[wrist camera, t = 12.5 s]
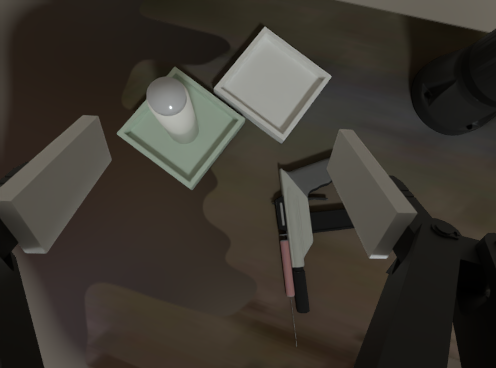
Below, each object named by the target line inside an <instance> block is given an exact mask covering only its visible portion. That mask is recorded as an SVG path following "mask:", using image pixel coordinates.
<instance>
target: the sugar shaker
mask: <svg viewBox="0 0 496 368" xmlns="http://www.w3.org/2000/svg"><path fill="white" fill-rule="evenodd" d="M147 104H148V107H149V108H150V110H151V111H152V113H153V114H154V115H155V117H156V118H157V119H158V121H159V122H160V123H161V125H162V126H163V127H164V129H165V130H166V131H167V133H168V134H169V135H170V137H171V138H172V139H173V140H174V141H175V142H177V143H180V144H188V143H191V142H192V141H194V140H195V139H196V138H197V136H198V134H199V125H198V122H197V118H196V115H195V112H194V109H193V106H192V103H191V100H190V97H189V94H188V91H187V89H186V88H185V86H184V85H183V84H182V83H180V82H179V81H178V80H176V79H174V78H172V77H160V78H158V79H156V80H154V81H153V82H152V83H151V84H150V85H149V87H148V89H147Z"/></svg>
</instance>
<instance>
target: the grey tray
mask: <svg viewBox="0 0 496 368" xmlns="http://www.w3.org/2000/svg"><path fill="white" fill-rule="evenodd" d="M331 77H332V76H331V75H329V74H328V73H327V72H325V71H324V70H323V69H321V68H320V67H319V66H317V65H316V64H314V63H313V62H312V61H310V60H309V59H308V58H306V57H305V56H304V55H302V54H301V53H300V52H298V51H297V50H296V49H294V48H293V47H292V46H290V45H289V44H288V43H286V42H285V41H284V40H282V39H281V38H280V37H278V36H277V35H276V34H274V33H273V32H272V31H270V30H269V29H267V28H266V27H264V28H263V29H262V31H261V32H260V33H259V34H258V35H257V37H256V38H255V39H254V40H253V41H252V43H251V44H250V45H249V46H248V48H247V49H246V50H245V51H244V52H243V54H242V55H241V56H240V57H239V58H238V60H237V61H236V62H235V63H234V64H233V66H232V67H231V68H230V69H229V71H228V72H227V73H226V74H225V75H224V77H223V78H222V79H221V80H220V81H219V83H218V84H217V85H216V86H215V87H214V94H215V95H216V96H218V97H219V98H220V99H222V100H223V101H225V102H226V103H227V104H229V105H230V106H231V107H233V108H234V109H235V110H237V111H238V112H239V113H241V114H242V115H243V116H245V117H246V118H247V119H249V120H250V121H251V122H253V123H254V124H255V125H257V126H258V127H259V128H261V129H262V130H263V131H265V132H266V133H267V134H269V135H270V136H271V137H273V138H274V139H275V140H277V141H278V142H279V143H281V144H282V143H283V141H284V140H285V139H286V137H287V136H288V135H289V133H290V132H291V131H292V129H293V128H294V127H295V125H296V124H297V123H298V121H299V120H300V119H301V117H302V116H303V115H304V113H305V112H306V111H307V109H308V108H309V107H310V105H311V104H312V103H313V101H314V100H315V99H316V97H317V96H318V94H319V93H320V92H321V90H322V89H323V88H324V86H325V85H326V84H327V82H328V81H329V80H330V78H331Z"/></svg>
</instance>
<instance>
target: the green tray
mask: <svg viewBox="0 0 496 368" xmlns="http://www.w3.org/2000/svg"><path fill="white" fill-rule="evenodd" d="M166 77H172V78H174V79H176V80H178V81H179V82H180V83H182V84H183V85H184V86H185V88H186V89H187V91H188V94H189V97H190V100H191V103H192V106H193V109H194V112H195V115H196V118H197V122H198V125H199V134H198V136H197V138H196V139H195V140H194V141H192V142H191V143H188V144H180V143H177V142H175V141H174V140H173V139H172V138H171V137H170V135H169V134H168V133H167V131H166V130H165V129H164V127H163V126H162V125H161V123H160V122H159V121H158V119H157V118H156V117H155V115H154V114H153V113H152V111H151V110H150V108H149V107H148V104H147V99H146V100H145V102H144V103H143V104H142V105H141V106H140V107H139V108H138V110H137V111H136V112H135V113H134V114H133V115H132V116H131V118H130V119H129V120H128V121H127V122H126V123H125V125H124V126H123V127H122V128H121V129H120V130H119V131H118V133H117V135H119V136H120V137H121V138H123V139H124V140H125V141H127V142H128V143H129V144H131V145H132V146H134V147H135V148H136V149H137V150H139V151H140V152H141V153H143V154H144V155H145V156H147V157H148V158H150V159H151V160H152V161H154V162H155V163H156V164H158V165H159V166H160V167H162V168H163V169H164V170H166V171H167V172H168V173H170V174H171V175H172V176H174V177H175V178H176V179H178V180H179V181H180V182H182V183H183V184H184V185H186V186H187V187H188V188H190V189H191V190H193V188H194V187H195V186H196V184H197V183H198V182H199V181H200V179H201V178H202V177H203V176H204V174H205V173H206V172H207V170H208V169H209V168H210V167H211V165H212V164H213V163H214V162H215V160H216V159H217V158H218V156H219V155H220V154H221V153H222V151H223V150H224V149H225V148H226V146H227V145H228V144H229V142H230V141H231V140H232V139H233V137H234V136H235V135H236V133H237V132H238V131H239V130H240V128H241V127H242V126H243V125H244V123H245V118H243V117H242V116H241V115H239V114H238V113H237V112H235V111H234V110H233V109H231V108H230V107H229V106H227V105H226V104H225V103H223V102H222V101H220V100H219V99H218V98H216V97H215V96H214V95H212V94H211V93H210V92H208V91H207V90H206V89H204V88H203V87H202V86H200V85H199V84H198V83H196V82H195V81H194V80H192V79H191V78H190V77H188V76H187V75H186V74H184V73H183V72H182V71H180V70H179V69H178V68H176V67H174V68H173V69H172V70H171V72H170V73H169V74H168V75H167V76H166Z"/></svg>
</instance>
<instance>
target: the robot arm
mask: <svg viewBox="0 0 496 368" xmlns="http://www.w3.org/2000/svg"><path fill="white" fill-rule="evenodd" d="M412 101H413V105H414V108H415V110H416V112H417V114H418V115H419V117H420V118H421V120H422V121H423V122H424V123H425V124H426V125H427V126H429V127H430V128H431V129H433V130H435V131H437V132H439V133H442V134H445V135H461V134H464V133H467V132H470V131H473V130H476V129H478V128H480V127H481V126H483V125H484V124H486V123H487V122H488V121H490V120H491V119H492V118H494V117H495V116H496V29H495V30H493V31H492V32H490V33H489V34H487V35H486V36H484V37H483V38H481V39H480V40H479V41H477V42H476V43H474V44H473V45H471V46H469V47H466V48H463V49H461V50H458V51H455V52H452V53H449V54H446V55H443V56H440V57H438V58H436V59H434V60H433V61H431V62H430V63H429V64H427V65H426V66H425V67H423V68H422V69H421V70H420V71H419V72H418V74H417V75H416V77H415V79H414V82H413V85H412ZM110 162H111V156H110V153H109V150H108V146H107V143H106V140H105V137H104V133H103V130H102V127H101V124H100V120H99V117H98V116H87V115H83V116H82V117H80V118H79V119H78V120H77V121H76V122H75V123H74V124H73V125H71V126H70V127H69V128H68V129H67V130H66V131H64V132H63V133H62V134H61V135H60V136H59V137H58V138H56V139H55V140H54V141H53V142H52V143H51V144H50V145H48V146H47V147H46V148H45V149H44V150H43V151H41V152H40V154H38V155H37V156H36V157H35V158H33V159H32V160H31V161H30V162H26V163H24V164H22V165H20V166H18V167H16V168H14V169H13V170H11V171H10V172H9V173H8V174H7V175H6V176H5V178H2V179H1V180H0V368H44V365H43V361H42V358H41V353H40V349H39V345H38V342H37V338H36V334H35V330H34V326H33V322H32V318H31V314H30V310H29V307H28V303H27V299H26V295H25V291H24V287H23V284H22V279H21V275H20V272H19V268H18V264H17V260H16V257H15V255H14V254H13V253H12V252H11V251H12V250H13V249H14V247H15V246H16V245H17V244H19V245H20V246H21V247H22V249H23V250H24V252H25V253H47V251H48V250H49V249H50V247H51V246H52V245H53V243H54V242H55V240H56V239H57V237H58V236H59V235H60V233H61V232H62V230H63V229H64V227H65V226H66V225H67V223H68V222H69V220H70V219H71V217H72V216H73V215H74V213H75V211H76V210H77V209H78V207H79V206H80V205H81V203H82V202H83V200H84V199H85V197H86V196H87V194H88V193H89V192H90V190H91V189H92V187H93V186H94V184H95V183H96V182H97V180H98V179H99V177H100V176H101V174H102V173H103V172H104V170H105V169H106V167H107V166H108V165H109V163H110ZM327 171H328V173H329V175H330V177H331V179H332V182H333V184H334V186H335V188H336V190H337V192H338V194H339V196H340V198H341V200H342V202H343V204H344V207H345V209H346V211H347V213H348V215H349V217H350V219H351V221H352V223H353V225H354V227H355V229H356V232H357V234H358V236H359V238H360V240H361V242H362V244H363V246H364V248H365V250H366V252H367V254H368V257H369V258H385V259H386V258H387V257H388V255H389V254H390V253H391V251H392V250H393V251H394V253H395V254H396V256H397V258H396V259H395V261H394V262H393V264H392V265H391V266H390V268H389V269H388V270H387V272H386V273H388V274H389V275H388V278H387V281H386V283H385V286H384V288H383V291H382V294H381V296H380V299H379V302H378V304H377V307H376V309H375V312H374V315H373V317H372V320H371V323H370V325H369V328H368V330H367V333H366V336H365V338H364V341H363V343H362V346H361V349H360V351H359V354H358V357H357V359H356V362H355V364H354V367H353V368H447V363H448V355H449V347H450V339H451V331H452V323H453V325H454V330H455V335H456V341H457V346H458V351H459V356H460V362H461V367H462V368H496V233H488V234H486V235H485V236H484V237H483V238H482V239H481V240H480V241H479V240H475V239H472V238H468V237H464V236H462V235H461V234H460V233H459V231H458V230H457V229H456V228H454V227H453V226H452V225H450V224H449V223H447V222H445V221H442V220H439V219H436V218H432V217H431V216H430V215H429V214H428V212H427V211H426V210H425V209H424V208H423V206H422V205H421V204H420V203H419V202H418V200H417V199H416V198H414V195H413V194H412V193H411V192H410V191H409V189H408V188H407V187H406V186H405V185H404V183H403V182H401V181H400V180H399V179H397V178H396V177H394V176H388V175H387V173H386V172H385V171H384V169H383V168H382V167H381V166H380V164H379V163H378V162H377V160H376V159H375V158H374V157H373V155H372V154H371V153H370V152H369V150H368V149H367V148H366V146H365V145H364V144H363V143H362V141H361V140H360V139H359V137H358V136H357V135H356V134H355V132H354V131H353V130H347V129H339V132H338V135H337V138H336V141H335V144H334V147H333V150H332V153H331V157H330V160H329V163H328V166H327Z"/></svg>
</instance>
